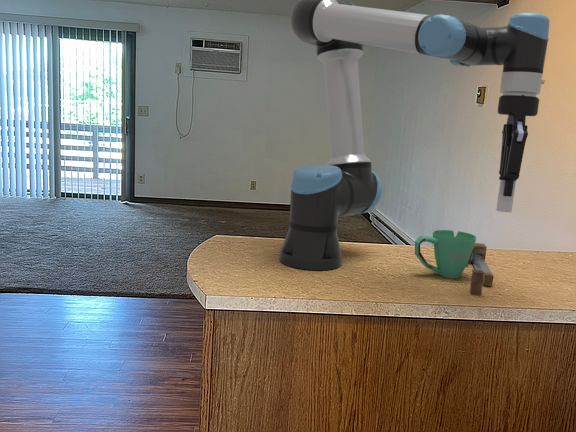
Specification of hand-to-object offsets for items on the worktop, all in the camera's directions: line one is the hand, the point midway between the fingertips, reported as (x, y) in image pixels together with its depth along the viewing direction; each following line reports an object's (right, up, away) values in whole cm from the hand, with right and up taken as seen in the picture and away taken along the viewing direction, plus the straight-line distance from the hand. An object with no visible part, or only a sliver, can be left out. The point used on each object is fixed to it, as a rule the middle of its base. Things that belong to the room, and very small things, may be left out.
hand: (503, 211), depth 117 cm
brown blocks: (0, -15, +18) cm, 24 cm away
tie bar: (+2, -15, +22) cm, 27 cm away
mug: (-9, -15, +17) cm, 24 cm away
